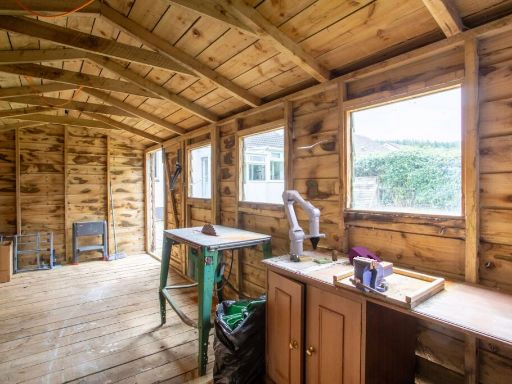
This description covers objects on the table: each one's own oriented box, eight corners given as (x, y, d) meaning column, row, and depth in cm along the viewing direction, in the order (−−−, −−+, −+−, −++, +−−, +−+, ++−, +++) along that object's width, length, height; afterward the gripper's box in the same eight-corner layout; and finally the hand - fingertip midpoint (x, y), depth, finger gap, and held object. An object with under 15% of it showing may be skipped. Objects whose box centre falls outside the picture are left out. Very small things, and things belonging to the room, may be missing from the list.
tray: (314, 260, 180) (313, 258, 180) (325, 259, 183) (325, 257, 183) (320, 264, 173) (320, 261, 173) (332, 262, 175) (332, 260, 175)
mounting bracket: (381, 276, 165) (357, 257, 179) (386, 264, 162) (362, 245, 176) (370, 279, 160) (346, 259, 174) (376, 267, 157) (351, 247, 171)
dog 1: (289, 259, 185) (289, 253, 185) (294, 259, 186) (294, 252, 186) (291, 260, 182) (291, 254, 182) (296, 260, 183) (295, 253, 183)
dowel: (331, 260, 181) (330, 250, 181) (335, 259, 182) (335, 250, 182) (333, 261, 178) (333, 251, 178) (338, 260, 179) (338, 251, 179)
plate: (295, 260, 186) (294, 256, 186) (306, 258, 188) (306, 255, 188) (300, 262, 178) (300, 259, 178) (312, 261, 180) (312, 257, 180)
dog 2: (292, 261, 180) (292, 254, 180) (297, 261, 181) (297, 254, 181) (294, 262, 177) (294, 256, 177) (299, 262, 178) (299, 255, 178)
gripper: (306, 229, 179) (306, 251, 180) (327, 227, 183) (328, 249, 184) (301, 227, 186) (302, 249, 186) (322, 226, 190) (322, 247, 191)
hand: (314, 249), depth 186 cm, fingers closed
